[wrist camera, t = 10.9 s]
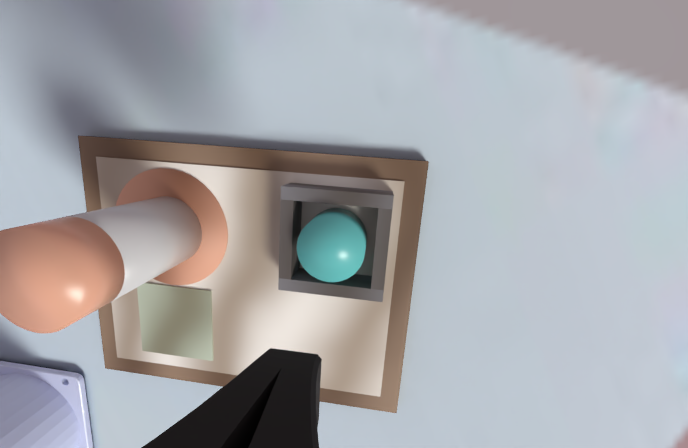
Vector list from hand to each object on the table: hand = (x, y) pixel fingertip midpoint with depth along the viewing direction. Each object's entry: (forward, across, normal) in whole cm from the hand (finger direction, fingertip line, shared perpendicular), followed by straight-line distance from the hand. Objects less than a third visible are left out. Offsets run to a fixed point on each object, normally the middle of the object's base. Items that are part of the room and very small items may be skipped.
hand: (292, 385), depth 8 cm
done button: (+9, 0, -2) cm, 10 cm away
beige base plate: (+9, +5, +1) cm, 11 cm away
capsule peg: (+8, +9, -1) cm, 13 cm away
